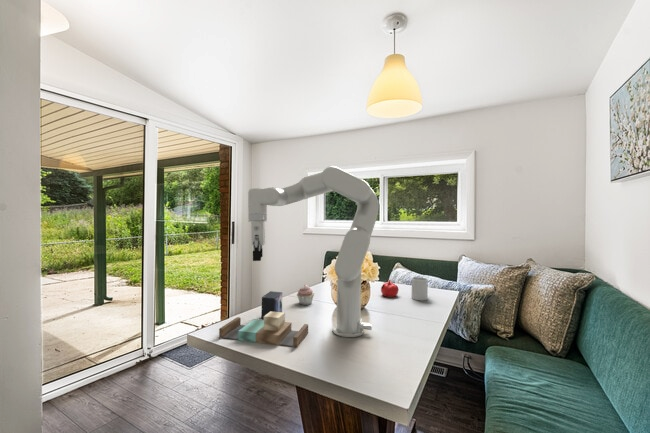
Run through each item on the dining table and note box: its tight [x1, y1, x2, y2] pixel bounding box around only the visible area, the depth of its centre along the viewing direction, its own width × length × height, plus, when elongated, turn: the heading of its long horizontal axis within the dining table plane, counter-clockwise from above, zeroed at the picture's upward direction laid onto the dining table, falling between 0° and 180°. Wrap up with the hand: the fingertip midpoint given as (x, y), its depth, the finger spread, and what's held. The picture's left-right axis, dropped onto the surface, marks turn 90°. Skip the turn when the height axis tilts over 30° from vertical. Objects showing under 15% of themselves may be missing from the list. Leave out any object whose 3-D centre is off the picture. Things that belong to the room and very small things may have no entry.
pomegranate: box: [380, 279, 399, 298], centre depth 175 cm, size 10×10×9 cm
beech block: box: [264, 311, 286, 331], centre depth 116 cm, size 6×6×5 cm
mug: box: [411, 276, 429, 301], centre depth 171 cm, size 12×8×11 cm
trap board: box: [218, 316, 309, 348], centre depth 117 cm, size 31×13×4 cm, turn 76°
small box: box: [260, 290, 283, 320], centre depth 137 cm, size 11×6×10 cm, turn 168°
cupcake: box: [296, 284, 315, 306], centre depth 159 cm, size 9×9×10 cm
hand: (257, 258), depth 128 cm, fingers open, 9 cm apart
